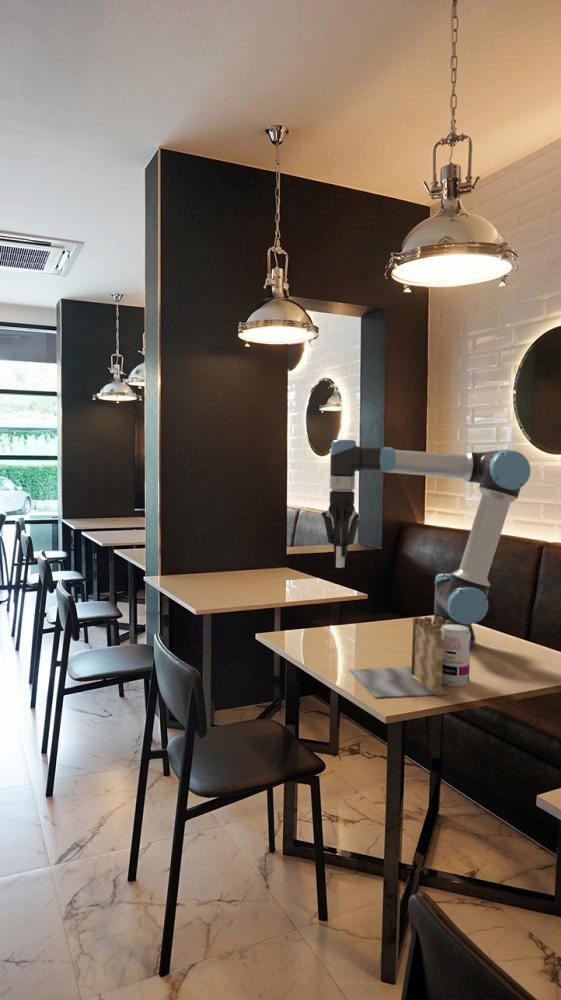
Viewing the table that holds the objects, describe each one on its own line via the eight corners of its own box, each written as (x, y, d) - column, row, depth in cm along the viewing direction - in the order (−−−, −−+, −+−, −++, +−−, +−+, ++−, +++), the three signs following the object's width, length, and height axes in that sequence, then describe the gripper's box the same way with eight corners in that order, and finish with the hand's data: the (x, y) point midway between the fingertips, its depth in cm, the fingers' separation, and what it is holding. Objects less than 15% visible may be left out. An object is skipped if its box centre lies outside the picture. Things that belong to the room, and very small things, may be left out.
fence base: (441, 667, 193) (443, 612, 192) (478, 693, 171) (480, 631, 170) (349, 670, 187) (351, 614, 186) (375, 698, 166) (377, 634, 165)
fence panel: (414, 674, 183) (415, 617, 182) (419, 674, 183) (421, 617, 182) (435, 695, 167) (437, 632, 166) (441, 694, 167) (443, 632, 167)
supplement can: (463, 677, 184) (465, 623, 183) (472, 687, 175) (474, 631, 175) (434, 677, 183) (436, 623, 183) (442, 687, 175) (444, 630, 174)
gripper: (317, 489, 204) (315, 566, 205) (355, 491, 197) (353, 570, 198) (329, 489, 210) (327, 563, 212) (367, 491, 203) (364, 567, 204)
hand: (340, 567), depth 205 cm, fingers closed
